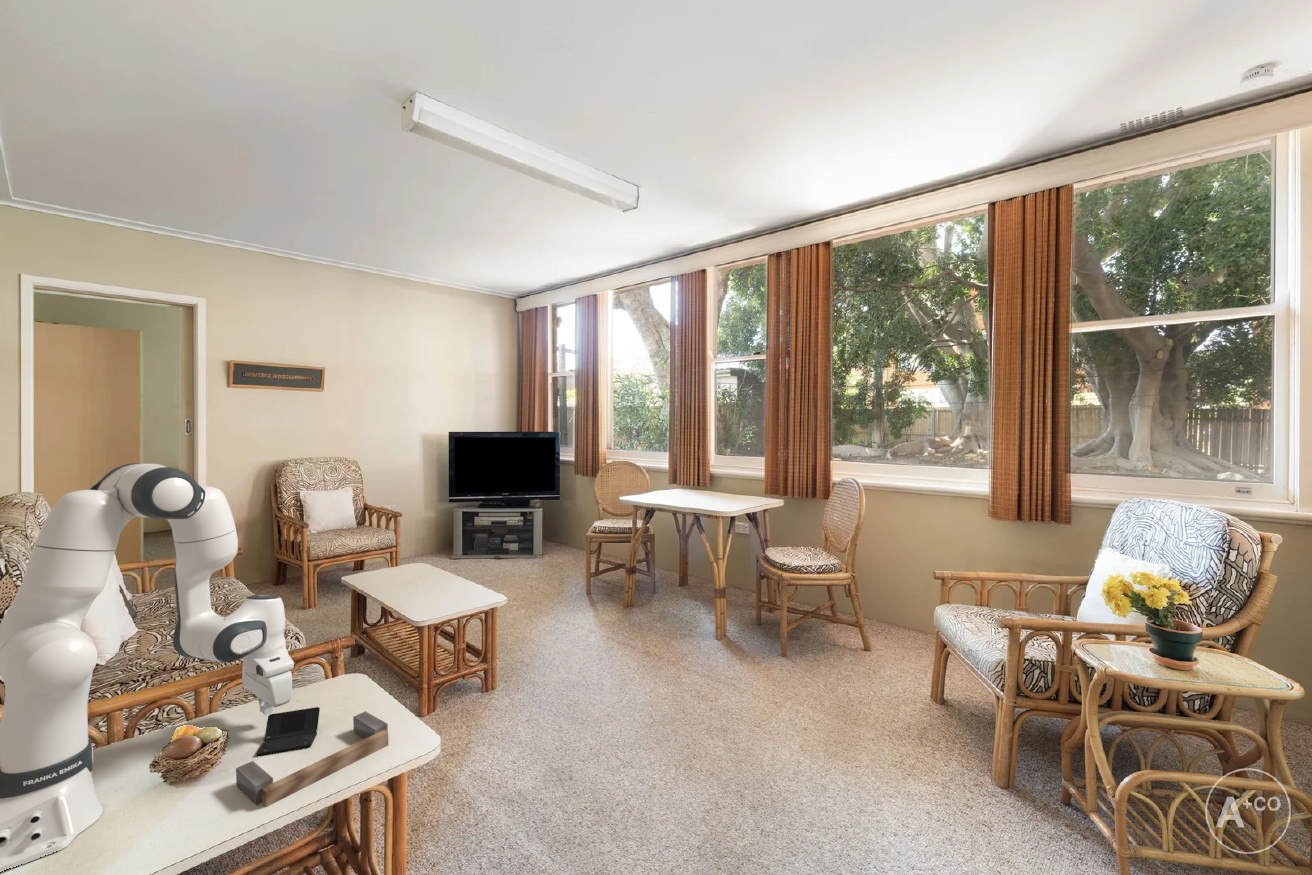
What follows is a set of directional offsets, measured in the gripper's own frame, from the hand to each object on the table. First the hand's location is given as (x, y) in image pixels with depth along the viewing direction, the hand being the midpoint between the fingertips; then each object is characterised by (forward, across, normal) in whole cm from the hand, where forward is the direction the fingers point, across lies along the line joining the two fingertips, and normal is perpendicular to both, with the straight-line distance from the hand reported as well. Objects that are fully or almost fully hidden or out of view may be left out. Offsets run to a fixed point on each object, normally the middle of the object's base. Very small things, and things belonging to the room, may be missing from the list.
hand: (266, 712), depth 138 cm
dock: (+3, +28, 0) cm, 28 cm away
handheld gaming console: (+4, +13, 0) cm, 13 cm away
